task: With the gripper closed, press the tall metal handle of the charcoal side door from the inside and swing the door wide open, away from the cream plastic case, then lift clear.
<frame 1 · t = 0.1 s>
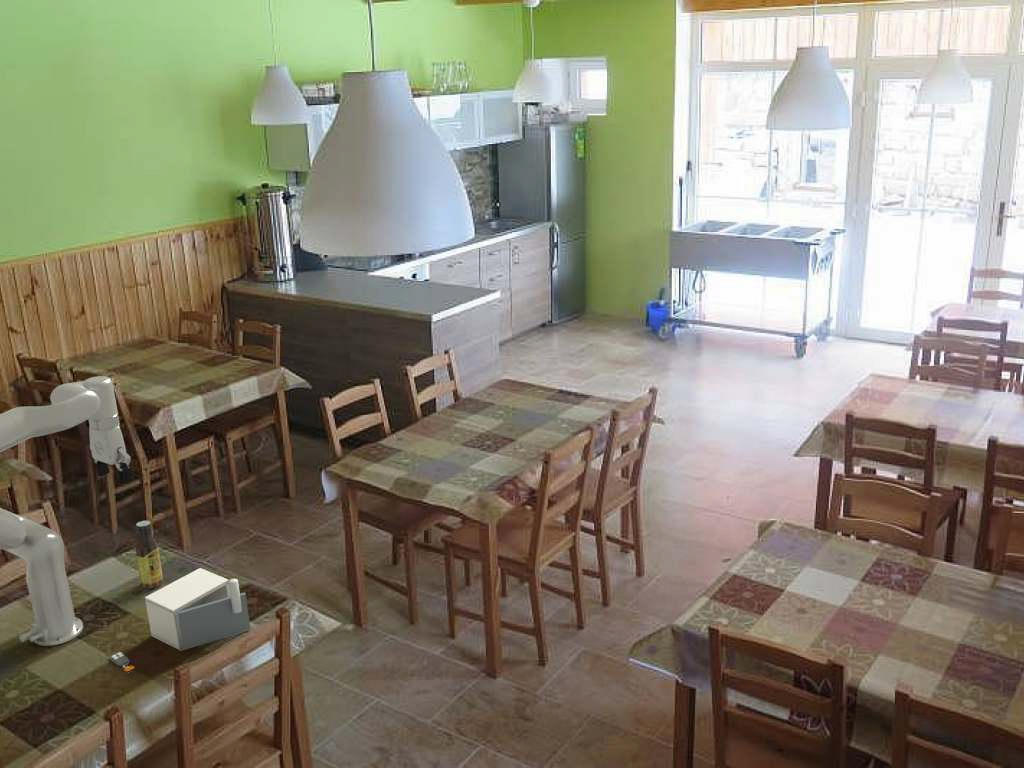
hand: (114, 478, 268), 37 cm above the table, tool pointing down, fingers open, 9 cm apart
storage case: (193, 626, 263), on the table
side door: (212, 614, 252), point 9 cm above the table, hinge at 25.0°
sauce bottle: (152, 584, 285), on the table
key chain: (126, 668, 247), on the table
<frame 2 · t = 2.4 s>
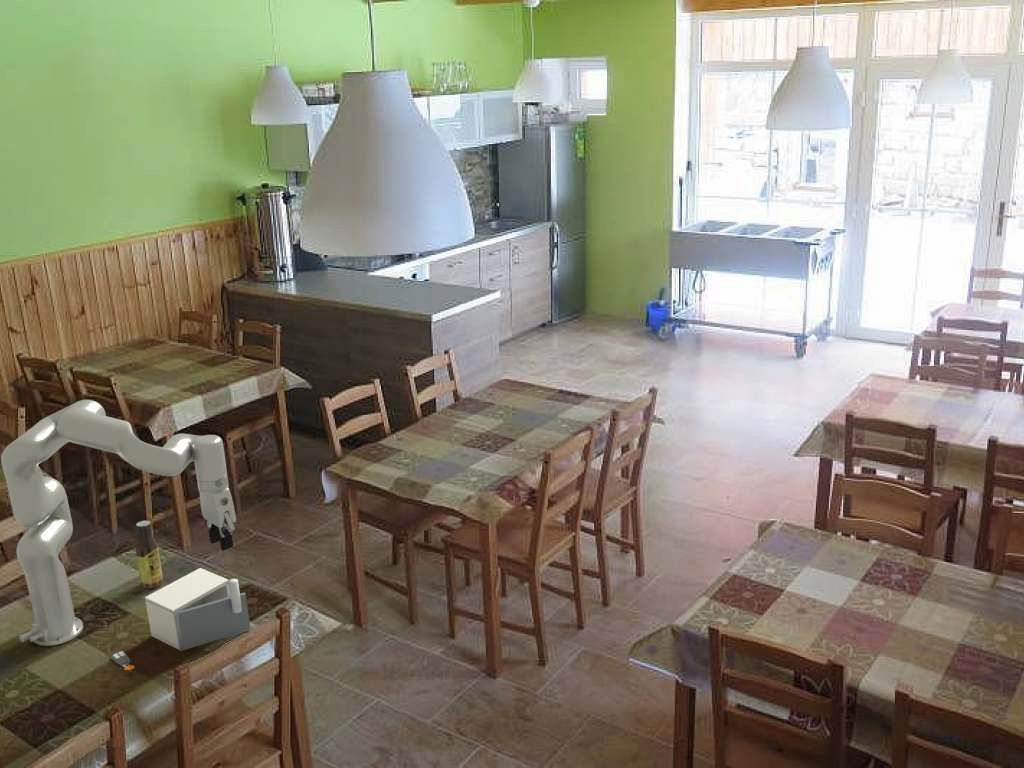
hand: (221, 544, 254), 25 cm above the table, tool pointing down, fingers open, 4 cm apart
nothing on the table moved.
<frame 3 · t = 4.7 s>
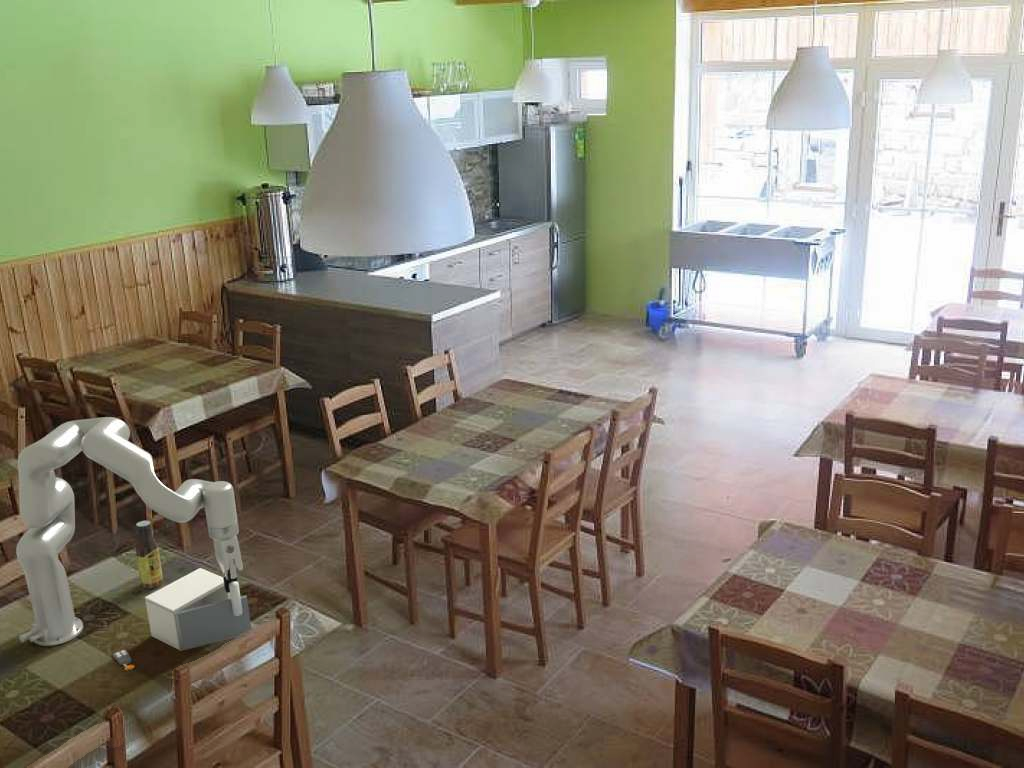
hand: (231, 589, 255), 13 cm above the table, tool pointing down, fingers closed
side door: (212, 616, 252), point 9 cm above the table, hinge at 30.4°, touching gripper
everything else where it was.
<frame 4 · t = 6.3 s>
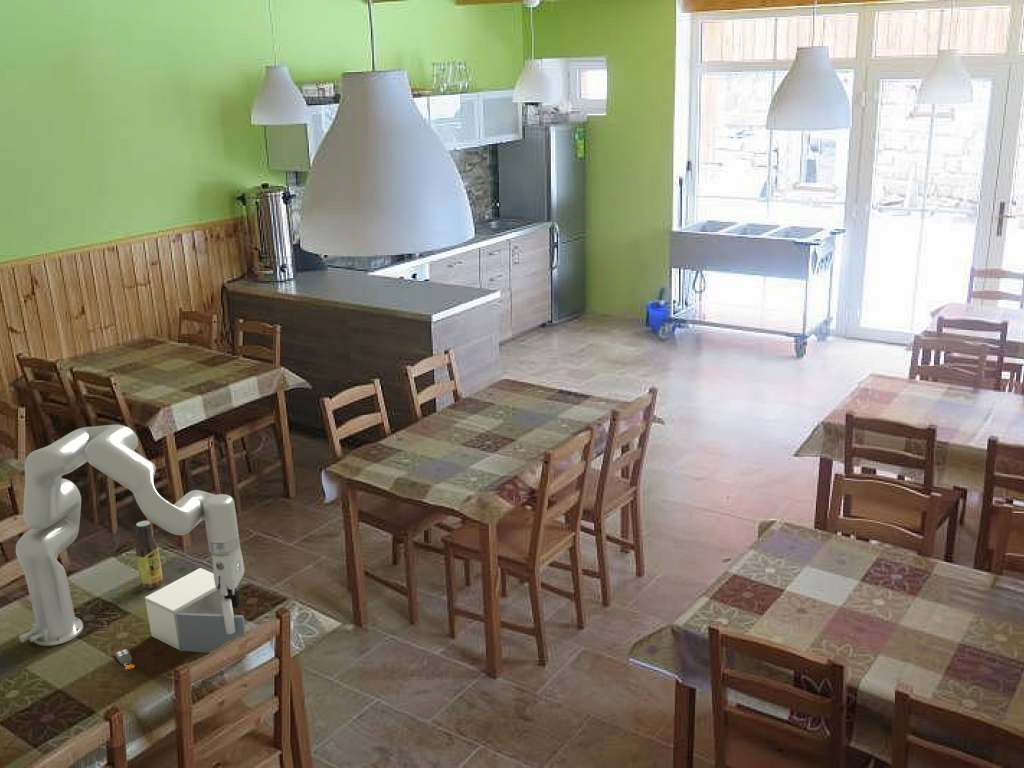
hand: (232, 605, 248), 13 cm above the table, tool pointing down, fingers closed
side door: (207, 626, 247), point 9 cm above the table, hinge at 62.2°, touching gripper
everything else where it was.
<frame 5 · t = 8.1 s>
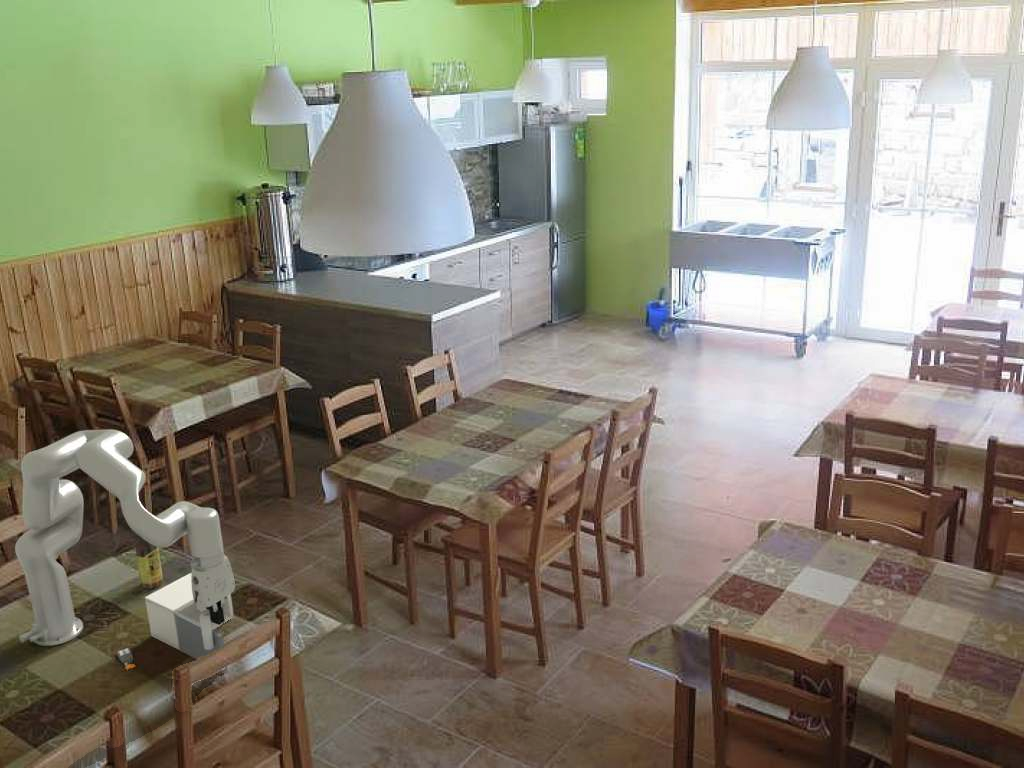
hand: (217, 621, 241), 13 cm above the table, tool pointing down, fingers closed
side door: (194, 635, 244), point 9 cm above the table, hinge at 91.2°, touching gripper
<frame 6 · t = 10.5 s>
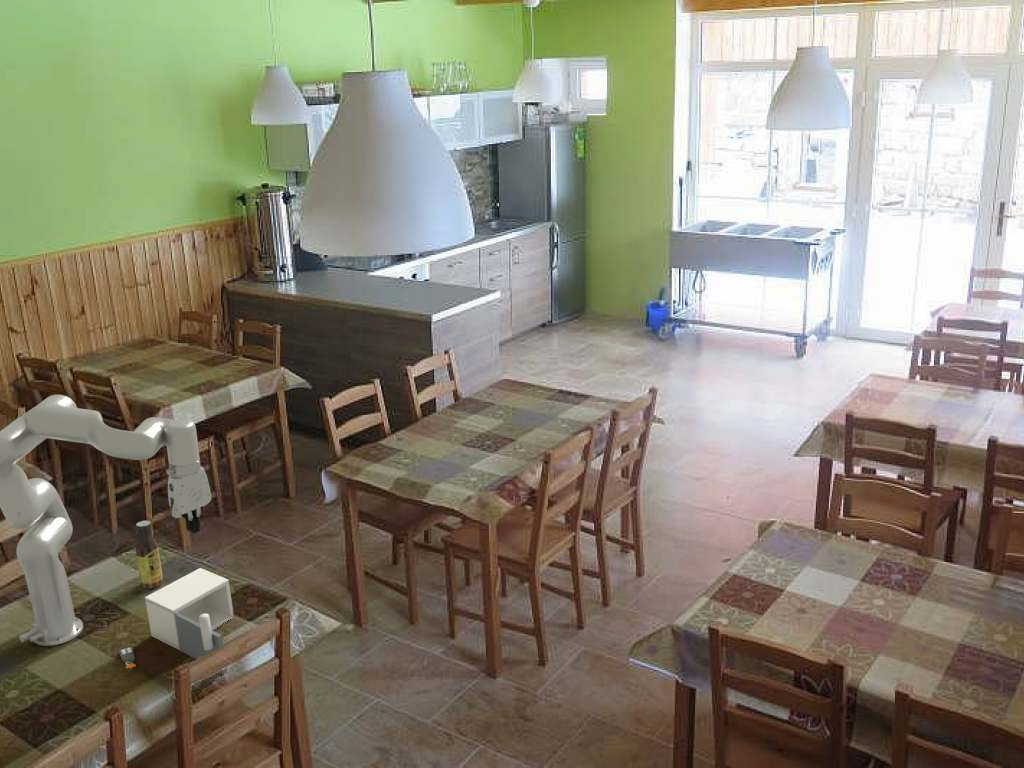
hand: (193, 530, 252), 30 cm above the table, tool pointing down, fingers closed
side door: (194, 635, 244), point 9 cm above the table, hinge at 91.8°
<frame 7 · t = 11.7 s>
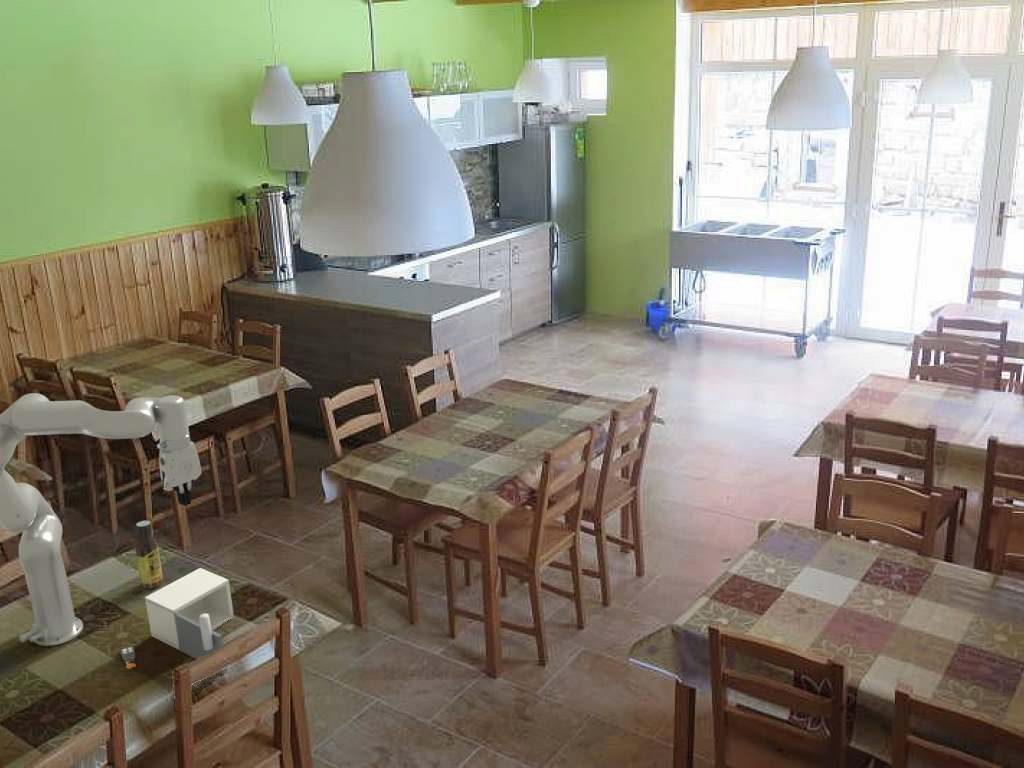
hand: (185, 503, 262), 32 cm above the table, tool pointing down, fingers closed
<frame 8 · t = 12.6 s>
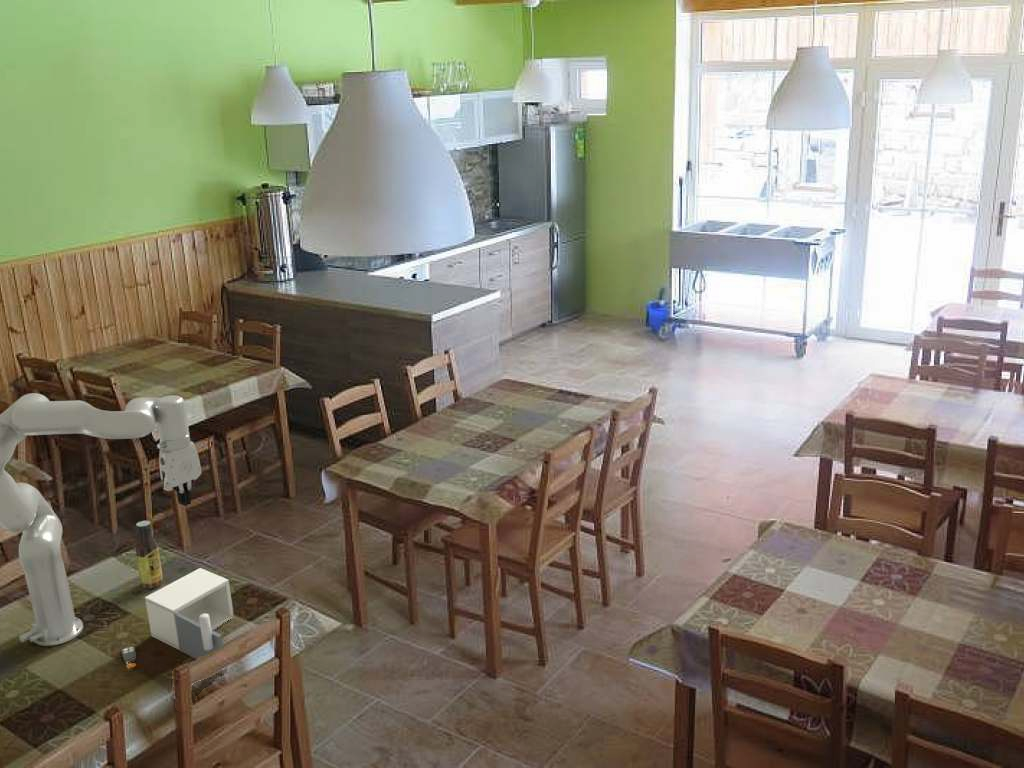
hand: (185, 503, 262), 32 cm above the table, tool pointing down, fingers closed
at the end: side door at +92° (first picture: +25°) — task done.
